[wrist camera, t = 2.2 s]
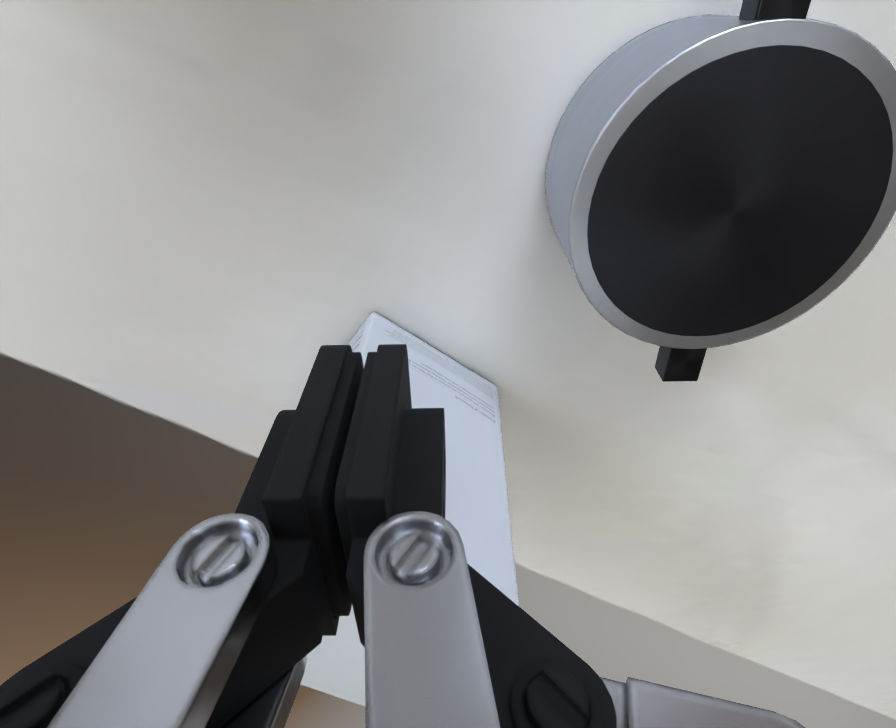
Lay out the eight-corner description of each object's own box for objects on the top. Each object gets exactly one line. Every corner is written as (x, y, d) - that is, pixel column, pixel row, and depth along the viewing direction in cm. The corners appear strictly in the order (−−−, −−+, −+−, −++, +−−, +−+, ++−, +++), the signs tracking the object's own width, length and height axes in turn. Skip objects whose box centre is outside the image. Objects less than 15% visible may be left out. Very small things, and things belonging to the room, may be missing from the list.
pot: (562, -45, 20) (599, -61, 15) (883, -54, 20) (1030, -74, 15) (533, 323, 29) (550, 389, 24) (753, 319, 29) (817, 385, 24)
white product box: (371, 304, 28) (309, 536, 16) (500, 384, 31) (532, 632, 19) (294, 410, 32) (197, 659, 20) (414, 471, 35) (394, 722, 23)
